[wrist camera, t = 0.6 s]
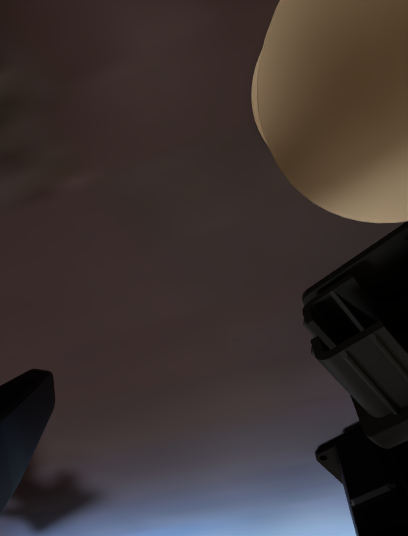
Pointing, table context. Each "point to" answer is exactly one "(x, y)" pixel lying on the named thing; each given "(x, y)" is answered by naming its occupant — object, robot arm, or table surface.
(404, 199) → the bobbin
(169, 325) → the table surface
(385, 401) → the end cap
